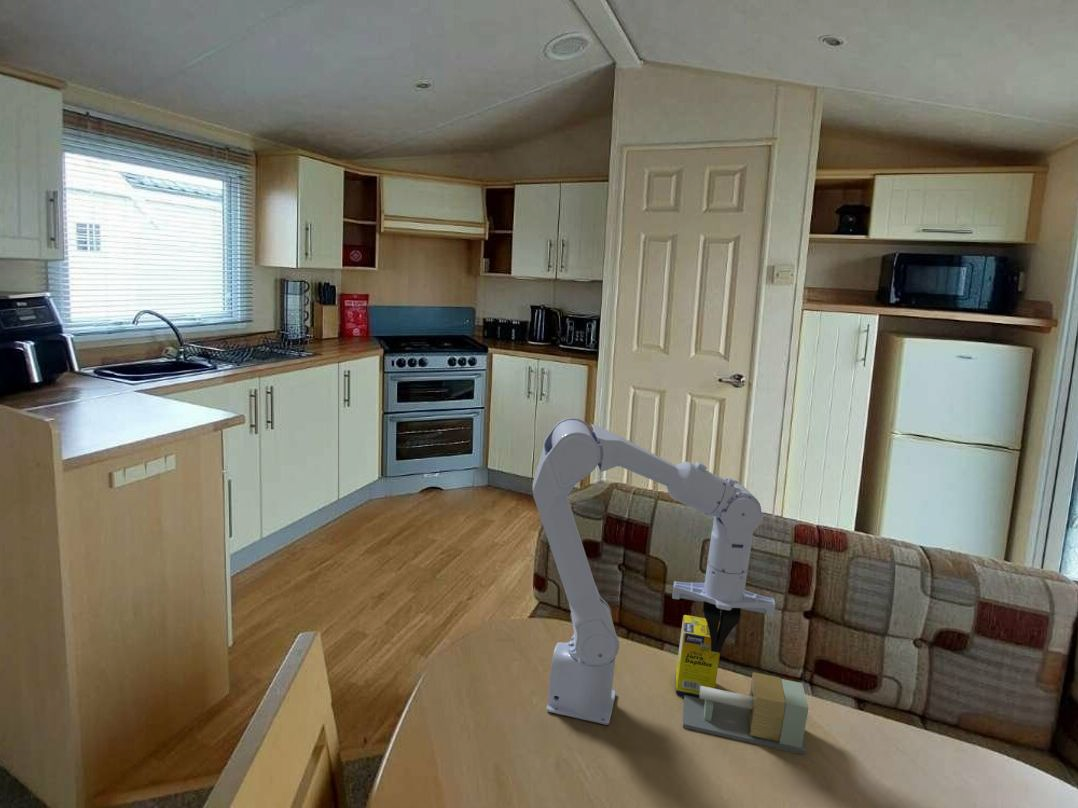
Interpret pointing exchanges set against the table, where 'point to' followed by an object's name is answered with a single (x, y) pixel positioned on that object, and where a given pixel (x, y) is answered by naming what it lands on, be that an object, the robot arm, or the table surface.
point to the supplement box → (695, 658)
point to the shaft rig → (746, 716)
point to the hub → (766, 707)
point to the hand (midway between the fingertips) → (715, 648)
